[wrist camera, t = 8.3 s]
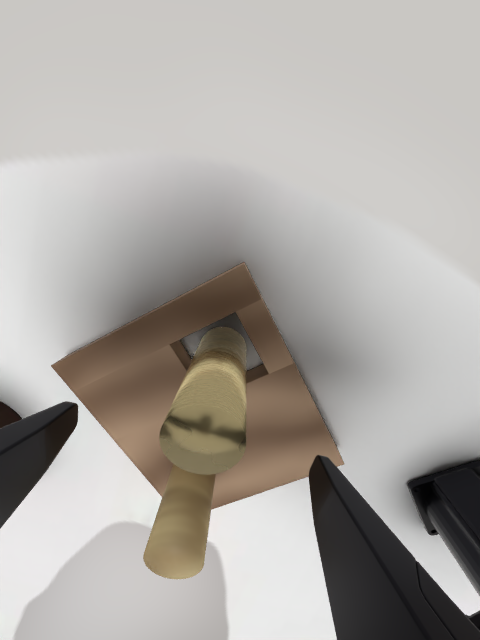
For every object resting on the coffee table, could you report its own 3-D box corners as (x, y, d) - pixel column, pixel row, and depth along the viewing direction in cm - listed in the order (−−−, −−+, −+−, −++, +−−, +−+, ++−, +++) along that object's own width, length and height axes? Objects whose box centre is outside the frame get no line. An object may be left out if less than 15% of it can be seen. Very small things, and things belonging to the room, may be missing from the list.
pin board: (336, 447, 19) (386, 560, 12) (185, 500, 21) (157, 620, 14) (244, 261, 14) (242, 279, 8) (67, 355, 17) (-50, 430, 10)
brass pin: (251, 332, 16) (256, 416, 8) (240, 373, 17) (234, 481, 9) (204, 321, 16) (165, 397, 8) (195, 363, 17) (153, 465, 9)
